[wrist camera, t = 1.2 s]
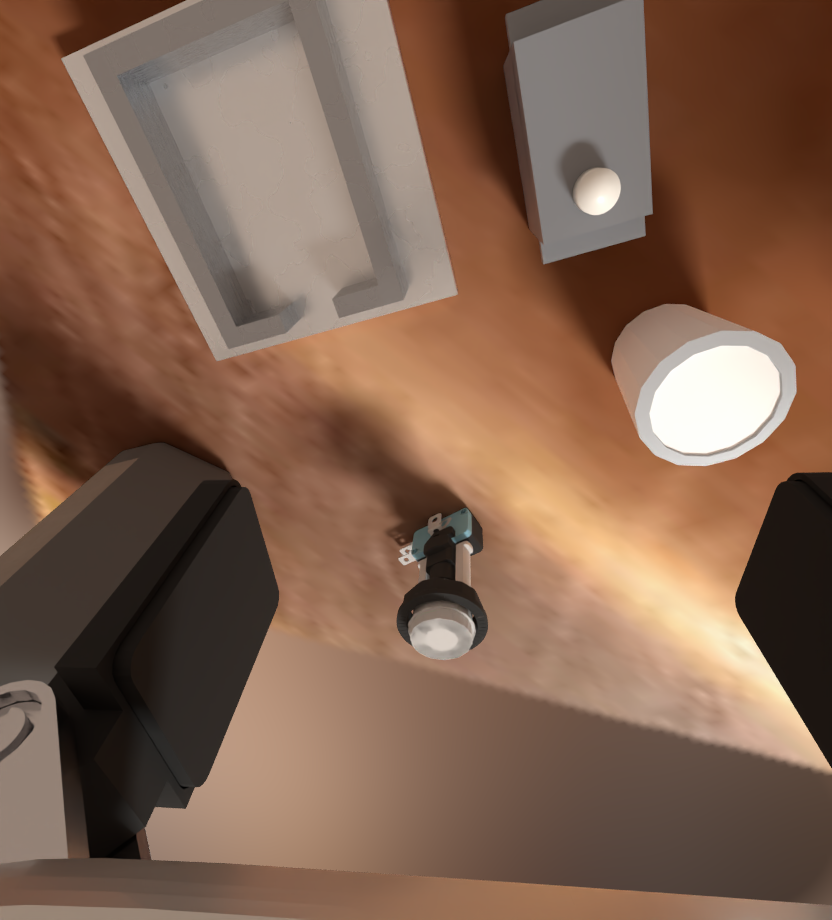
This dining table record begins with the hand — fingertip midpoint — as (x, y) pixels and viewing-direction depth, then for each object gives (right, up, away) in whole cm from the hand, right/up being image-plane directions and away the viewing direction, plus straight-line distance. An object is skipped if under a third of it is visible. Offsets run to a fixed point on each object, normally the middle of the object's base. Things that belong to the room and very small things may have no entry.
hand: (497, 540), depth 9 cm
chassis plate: (-8, +16, +16) cm, 24 cm away
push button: (0, -4, +28) cm, 28 cm away
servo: (+5, +17, +14) cm, 23 cm away
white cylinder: (+13, +8, +19) cm, 24 cm away
